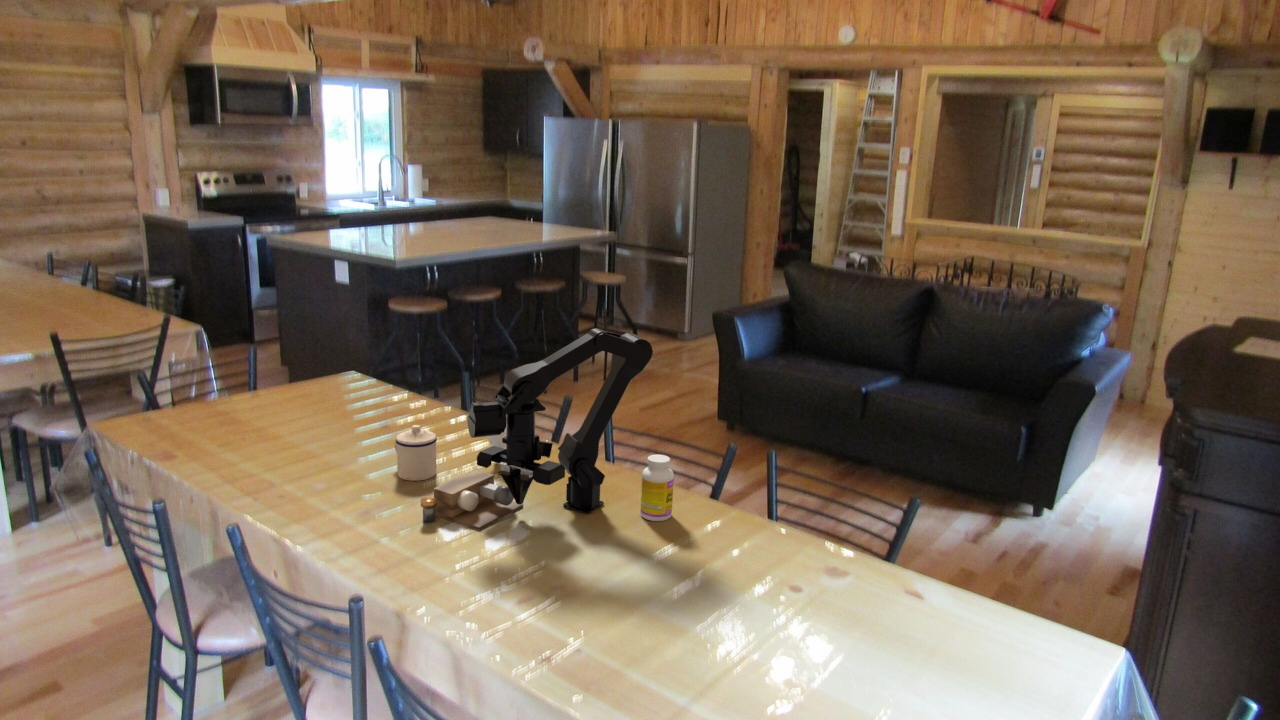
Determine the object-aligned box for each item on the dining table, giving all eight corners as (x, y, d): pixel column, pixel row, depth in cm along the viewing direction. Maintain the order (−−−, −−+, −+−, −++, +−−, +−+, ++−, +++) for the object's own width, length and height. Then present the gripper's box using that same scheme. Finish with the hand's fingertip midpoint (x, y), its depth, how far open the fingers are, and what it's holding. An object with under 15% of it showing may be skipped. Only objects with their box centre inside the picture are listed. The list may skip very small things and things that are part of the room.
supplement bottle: (668, 524, 178) (672, 465, 175) (637, 520, 180) (639, 462, 176) (674, 511, 185) (677, 454, 181) (643, 507, 186) (646, 451, 183)
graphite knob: (514, 502, 182) (514, 485, 181) (502, 508, 179) (502, 491, 178) (481, 491, 186) (481, 475, 185) (469, 497, 183) (469, 480, 182)
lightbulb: (498, 470, 202) (498, 425, 200) (480, 463, 206) (480, 419, 203) (517, 463, 207) (517, 419, 204) (499, 457, 211) (499, 414, 208)
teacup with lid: (445, 474, 199) (445, 426, 196) (413, 485, 192) (412, 435, 189) (412, 460, 206) (411, 414, 203) (380, 471, 199) (378, 422, 196)
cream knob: (478, 507, 179) (478, 490, 178) (466, 513, 175) (465, 496, 174) (445, 497, 183) (445, 480, 182) (433, 502, 180) (432, 485, 179)
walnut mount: (523, 506, 183) (523, 482, 182) (479, 530, 172) (478, 504, 170) (476, 492, 190) (476, 468, 188) (430, 513, 178) (430, 488, 177)
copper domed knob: (440, 520, 176) (440, 499, 174) (429, 525, 173) (428, 504, 172) (428, 516, 177) (428, 495, 176) (417, 521, 174) (417, 500, 173)
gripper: (581, 431, 177) (579, 501, 181) (509, 413, 186) (508, 481, 190) (549, 446, 168) (547, 520, 171) (474, 426, 177) (475, 497, 180)
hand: (519, 503), depth 179 cm, fingers closed
